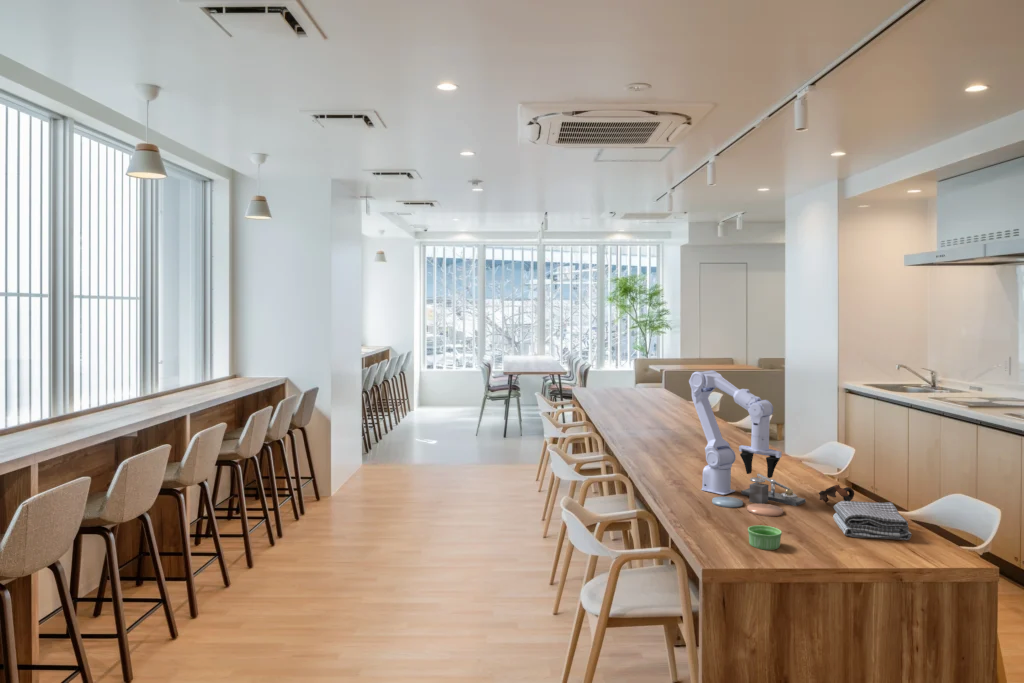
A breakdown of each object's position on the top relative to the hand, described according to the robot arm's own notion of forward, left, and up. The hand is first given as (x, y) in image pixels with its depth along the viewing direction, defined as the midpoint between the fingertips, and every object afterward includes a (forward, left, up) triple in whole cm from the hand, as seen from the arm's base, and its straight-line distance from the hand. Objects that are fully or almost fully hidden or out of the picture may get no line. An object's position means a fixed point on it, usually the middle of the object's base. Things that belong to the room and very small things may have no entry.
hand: (759, 475), depth 239 cm
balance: (+1, +8, -9) cm, 12 cm away
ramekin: (+23, -40, -10) cm, 47 cm away
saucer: (-6, -10, -9) cm, 15 cm away
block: (0, 0, -9) cm, 9 cm away
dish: (+7, -9, -9) cm, 15 cm away
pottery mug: (+20, +16, -10) cm, 27 cm away
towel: (+38, -5, -10) cm, 40 cm away
